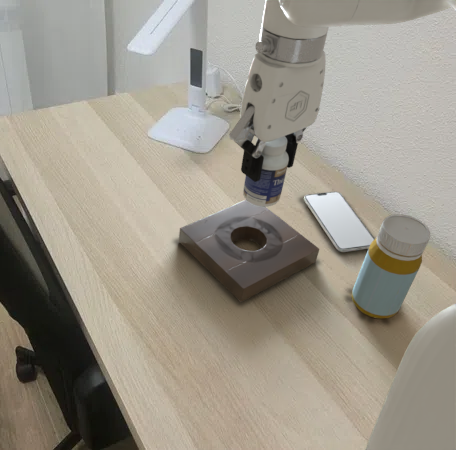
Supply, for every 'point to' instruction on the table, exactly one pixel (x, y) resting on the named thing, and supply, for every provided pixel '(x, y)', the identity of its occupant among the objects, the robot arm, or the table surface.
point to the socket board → (242, 259)
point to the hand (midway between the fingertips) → (266, 168)
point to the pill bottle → (269, 175)
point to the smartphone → (339, 221)
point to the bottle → (390, 266)
